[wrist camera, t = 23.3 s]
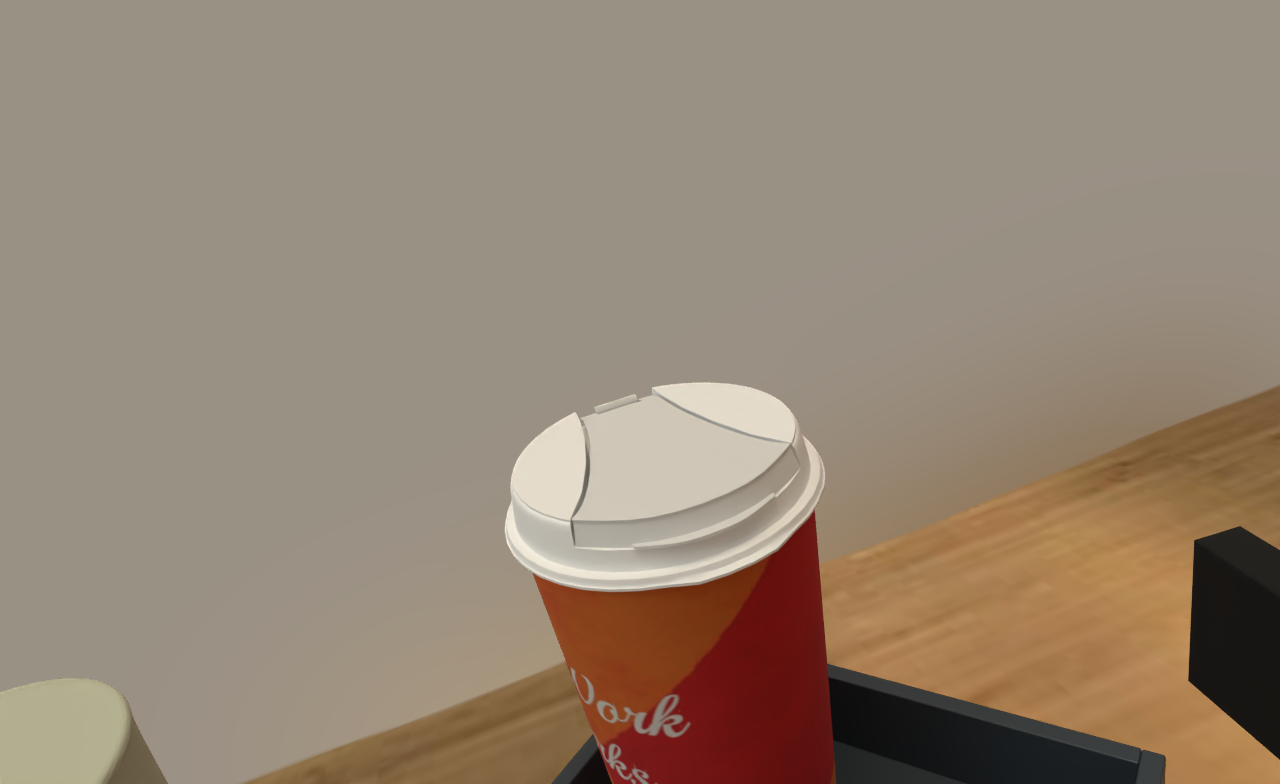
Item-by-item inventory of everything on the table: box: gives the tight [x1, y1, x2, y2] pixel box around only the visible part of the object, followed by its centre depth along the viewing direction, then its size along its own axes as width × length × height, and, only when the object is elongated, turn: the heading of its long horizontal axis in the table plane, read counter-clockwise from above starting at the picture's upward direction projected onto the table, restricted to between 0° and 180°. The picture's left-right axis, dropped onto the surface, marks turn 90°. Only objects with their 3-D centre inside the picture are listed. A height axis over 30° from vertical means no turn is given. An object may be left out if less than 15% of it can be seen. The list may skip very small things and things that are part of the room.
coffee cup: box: [505, 382, 836, 784], centre depth 24 cm, size 8×8×15 cm
